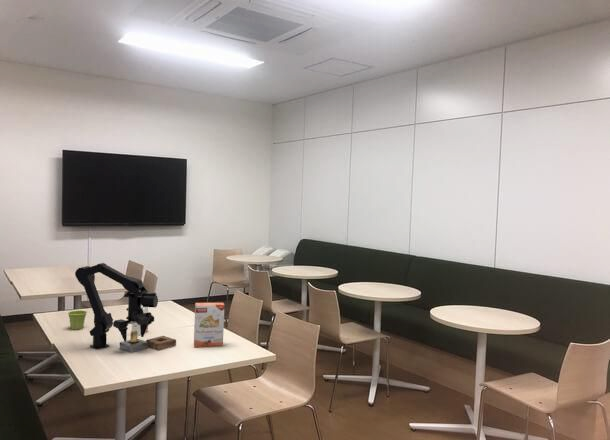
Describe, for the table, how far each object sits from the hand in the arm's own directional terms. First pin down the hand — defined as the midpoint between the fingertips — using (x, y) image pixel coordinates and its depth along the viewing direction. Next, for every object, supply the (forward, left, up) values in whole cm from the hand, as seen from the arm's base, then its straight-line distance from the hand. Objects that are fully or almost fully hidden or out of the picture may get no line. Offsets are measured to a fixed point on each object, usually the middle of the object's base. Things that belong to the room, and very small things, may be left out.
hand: (133, 339), depth 223 cm
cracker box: (+22, +27, -5) cm, 35 cm away
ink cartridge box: (-20, +17, -5) cm, 27 cm away
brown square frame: (+6, +11, -4) cm, 13 cm away
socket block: (0, 0, -4) cm, 4 cm away
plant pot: (-51, 0, -5) cm, 51 cm away
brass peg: (0, 0, -4) cm, 4 cm away
